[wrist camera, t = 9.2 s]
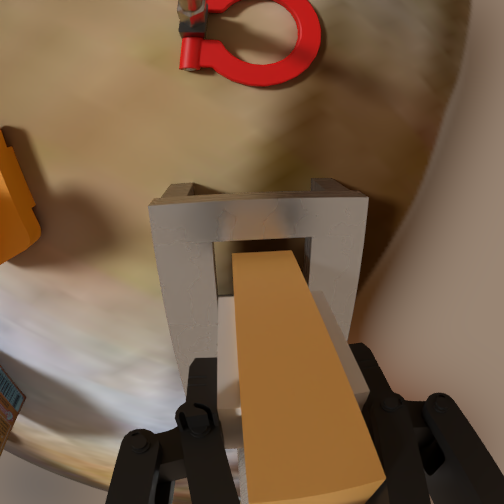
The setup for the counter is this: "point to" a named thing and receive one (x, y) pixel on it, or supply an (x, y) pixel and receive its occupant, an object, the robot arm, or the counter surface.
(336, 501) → the wedge pin
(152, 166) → the counter surface
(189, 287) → the windowed plate knob
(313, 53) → the tow hook
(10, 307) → the counter surface
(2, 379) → the milk carton
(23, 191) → the bracket
